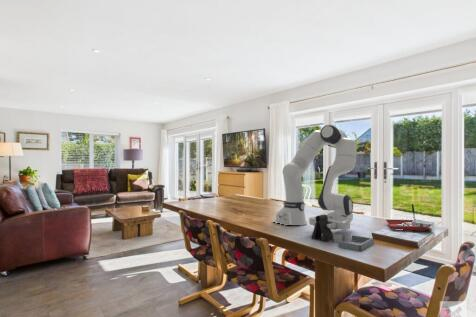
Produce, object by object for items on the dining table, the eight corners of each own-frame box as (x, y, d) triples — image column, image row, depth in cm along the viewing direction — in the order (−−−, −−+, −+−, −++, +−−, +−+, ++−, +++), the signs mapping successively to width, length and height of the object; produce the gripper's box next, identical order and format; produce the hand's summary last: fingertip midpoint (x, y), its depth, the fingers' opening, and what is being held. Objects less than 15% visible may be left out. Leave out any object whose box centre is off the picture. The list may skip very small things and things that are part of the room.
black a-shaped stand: (333, 239, 135) (332, 215, 136) (326, 242, 132) (325, 217, 132) (318, 236, 142) (317, 213, 143) (311, 238, 139) (310, 214, 139)
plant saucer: (390, 231, 149) (390, 225, 149) (385, 224, 166) (385, 219, 166) (429, 233, 143) (429, 226, 143) (420, 225, 160) (419, 220, 160)
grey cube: (333, 242, 131) (333, 234, 131) (337, 240, 133) (337, 232, 133) (341, 244, 128) (341, 235, 128) (345, 242, 131) (345, 233, 131)
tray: (338, 246, 123) (338, 241, 123) (352, 240, 133) (352, 234, 134) (360, 251, 116) (360, 245, 116) (373, 243, 126) (373, 238, 126)
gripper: (316, 212, 154) (302, 216, 144) (352, 217, 139) (340, 221, 129) (316, 224, 154) (303, 228, 144) (353, 229, 139) (340, 234, 129)
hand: (321, 225), depth 137 cm, fingers open, 6 cm apart
